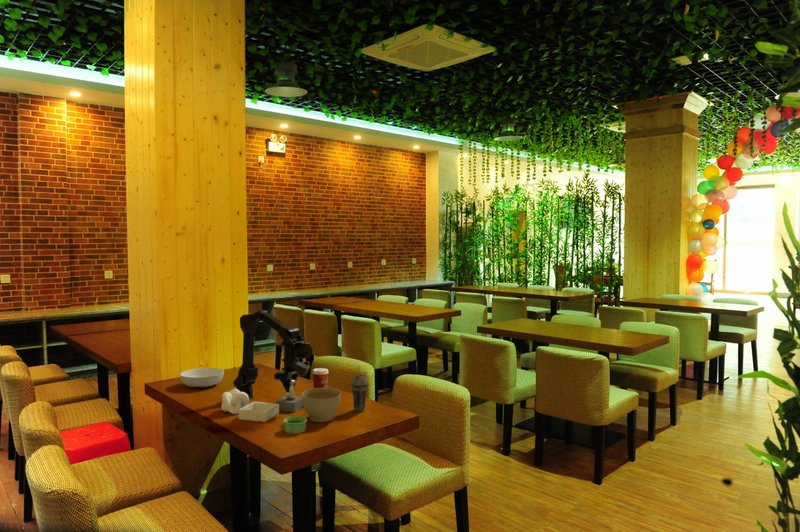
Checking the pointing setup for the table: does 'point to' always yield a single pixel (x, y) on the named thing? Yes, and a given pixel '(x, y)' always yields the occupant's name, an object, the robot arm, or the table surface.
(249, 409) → the tray
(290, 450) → the table surface
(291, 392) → the pin
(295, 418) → the ramekin
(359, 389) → the beverage cup
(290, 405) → the block
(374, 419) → the table surface
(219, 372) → the serving bowl
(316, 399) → the planter bowl
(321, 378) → the paper cup
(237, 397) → the white knot sculpture
